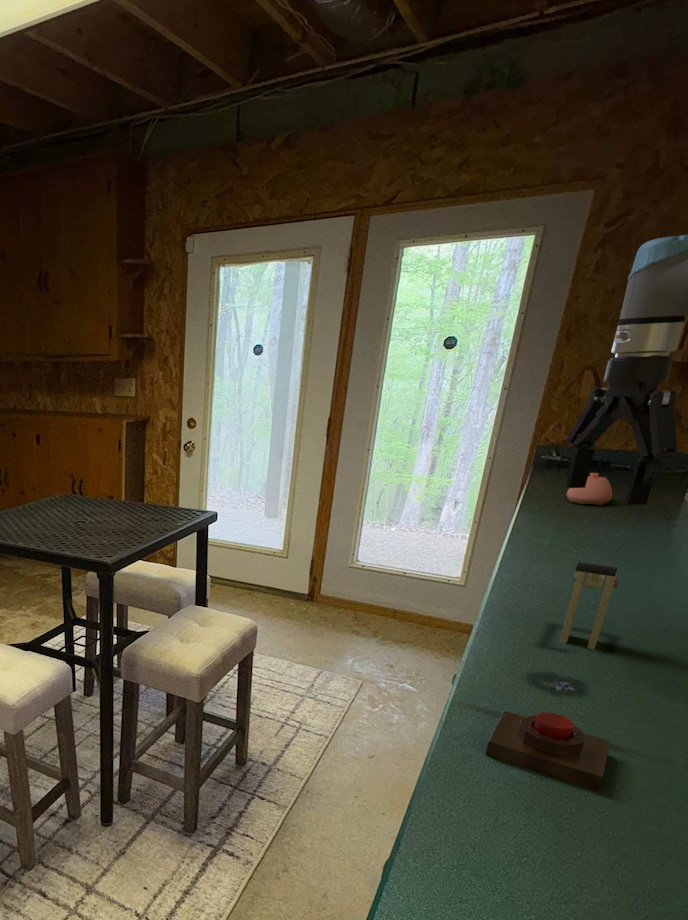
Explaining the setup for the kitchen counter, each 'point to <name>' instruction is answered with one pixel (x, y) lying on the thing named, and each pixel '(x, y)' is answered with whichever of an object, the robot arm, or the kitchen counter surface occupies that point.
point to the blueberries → (561, 686)
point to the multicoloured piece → (596, 573)
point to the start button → (553, 725)
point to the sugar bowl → (592, 491)
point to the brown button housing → (549, 751)
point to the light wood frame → (573, 606)
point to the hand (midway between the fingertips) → (603, 495)
